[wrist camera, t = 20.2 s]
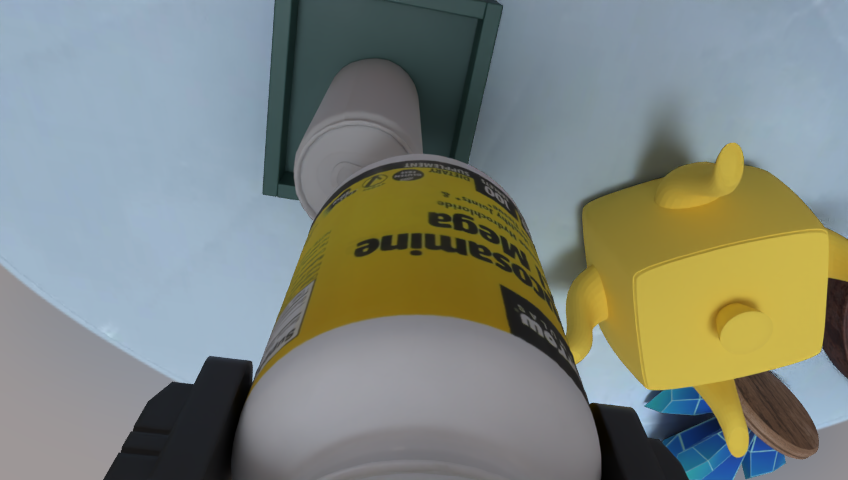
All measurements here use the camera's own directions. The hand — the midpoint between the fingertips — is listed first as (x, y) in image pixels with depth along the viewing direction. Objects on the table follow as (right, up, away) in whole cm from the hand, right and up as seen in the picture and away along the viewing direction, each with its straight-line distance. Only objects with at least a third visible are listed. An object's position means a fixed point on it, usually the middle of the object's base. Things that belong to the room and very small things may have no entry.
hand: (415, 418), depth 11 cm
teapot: (+16, +3, +26) cm, 31 cm away
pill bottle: (0, +3, +6) cm, 7 cm away
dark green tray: (-2, +11, +22) cm, 25 cm away
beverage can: (-3, +11, +21) cm, 24 cm away
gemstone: (+23, -7, +28) cm, 37 cm away
